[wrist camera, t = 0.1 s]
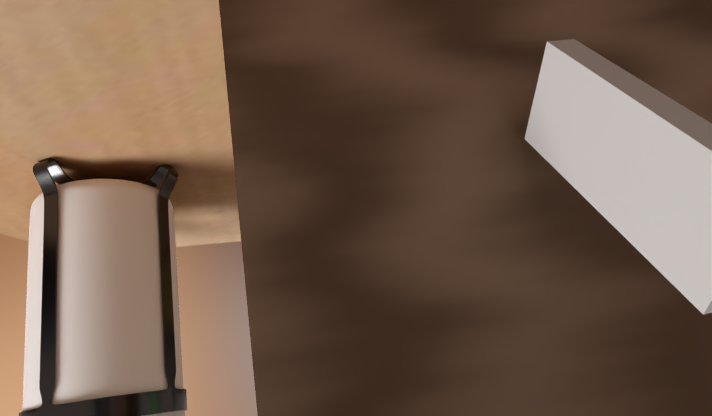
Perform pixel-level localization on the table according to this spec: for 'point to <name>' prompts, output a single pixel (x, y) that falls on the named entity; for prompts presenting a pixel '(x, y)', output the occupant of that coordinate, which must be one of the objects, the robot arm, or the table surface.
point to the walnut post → (448, 212)
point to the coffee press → (102, 298)
